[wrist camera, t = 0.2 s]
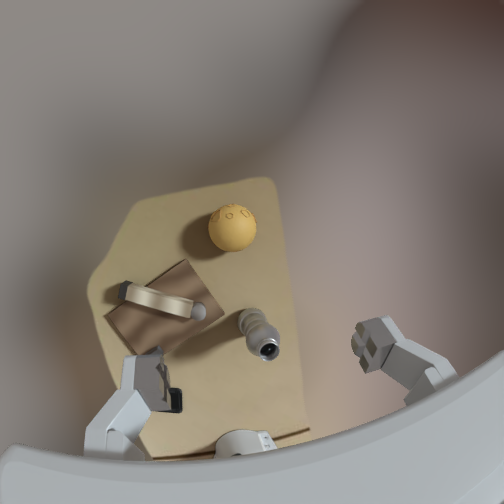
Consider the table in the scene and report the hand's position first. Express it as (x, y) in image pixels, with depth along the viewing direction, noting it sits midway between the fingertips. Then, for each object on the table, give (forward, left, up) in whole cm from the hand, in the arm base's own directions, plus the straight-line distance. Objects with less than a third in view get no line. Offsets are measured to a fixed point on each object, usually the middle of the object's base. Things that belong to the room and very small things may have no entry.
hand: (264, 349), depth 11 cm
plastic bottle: (-17, +2, -54) cm, 57 cm away
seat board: (-5, +17, -54) cm, 57 cm away
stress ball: (+3, -6, -54) cm, 55 cm away
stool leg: (-2, +15, -52) cm, 54 cm away
